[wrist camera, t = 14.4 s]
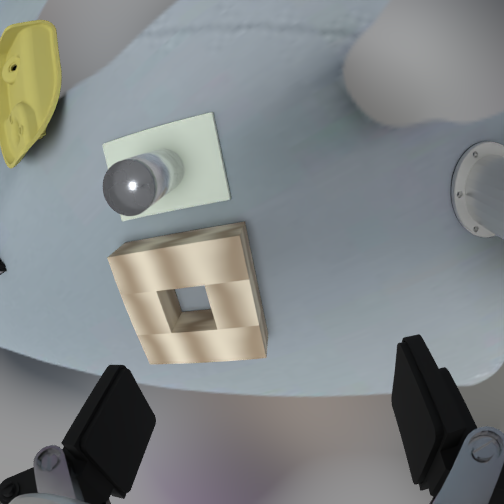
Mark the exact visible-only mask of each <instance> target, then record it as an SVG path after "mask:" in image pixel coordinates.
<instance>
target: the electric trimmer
mask: <svg viewBox="0 0 504 504" xmlns="http://www.w3.org/2000/svg"><path fill="white" fill-rule="evenodd" d="M5 267H6V266H5V265H4V264H1V262H0V274H2V273H4V272H5V271H6V269H5Z"/></svg>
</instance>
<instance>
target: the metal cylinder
mask: <svg viewBox="0 0 504 504" xmlns="http://www.w3.org/2000/svg"><path fill="white" fill-rule="evenodd" d="M183 176H184V164H183V161H182V159H181V158H180V156H179V155H178V154H177V153H176V152H174V151H172V150H170V149H165V148H162V149H157V150H154V151H150V152H147V153H144V154H140V155H137V156H134V157H131V158H127V159H124V160H121V161H118V162H116V163H115V164H113V165H112V166H111V167H110V168H109V169H108V171H107V172H106V174H105V177H104V180H103V193H104V196H105V199H106V201H107V203H108V204H109V206H110V207H111V208H112V209H113V210H114V211H116V212H117V213H119V214H121V215H124V216H136V215H139V214H141V213H142V212H144V211H145V210H146V209H148V208H149V207H150V206H152V205H153V204H154V203H156V202H157V201H158V200H160V199H161V198H162V197H164V196H165V195H166V194H168V193H169V192H170V191H172V190H173V189H174V188H176V187H177V186H178V185H179V184H180V183H181V181H182V179H183Z"/></svg>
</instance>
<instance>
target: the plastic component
mask: <svg viewBox="0 0 504 504" xmlns="http://www.w3.org/2000/svg"><path fill="white" fill-rule="evenodd" d="M58 51H59V50H58V42H57V33H56V28H55V26H54V25H53V24H52V23H50V22H49V21H45V20H36V21H29V22H23V23H17V24H12V25H10V26H8V27H7V28H6V29H5V30H4V32H3V34H2V36H1V38H0V146H1V150H2V154H3V157H4V160H5V163H6V164H7V166H8V167H9V168H13V167H15V166H16V165H17V164H18V163H19V162H20V161H21V160H22V159H23V157H24V156H25V154H26V153H27V151H28V150H29V149H30V148H31V147H32V145H33V144H34V143H35V142H36V141H37V140H38V139H42V138H43V136H45V135H46V128H47V125H48V123H49V121H50V119H51V117H52V115H53V113H54V110H55V108H56V105H57V102H58V99H59V95H60V89H61V65H60V58H59V52H58ZM15 65H17V68H16V70H15V71H12V69H13V67H14V66H15Z"/></svg>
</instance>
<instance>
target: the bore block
mask: <svg viewBox="0 0 504 504" xmlns="http://www.w3.org/2000/svg"><path fill="white" fill-rule="evenodd" d="M107 258H108V261H109V264H110V267H111V269H112V272H113V275H114V278H115V281H116V283H117V286H118V289H119V291H120V294H121V297H122V299H123V302H124V304H125V307H126V309H127V312H128V314H129V317H130V319H131V322H132V324H133V326H134V329H135V331H136V333H137V336H138V338H139V340H140V343H141V345H142V347H143V349H144V352H145V354H146V356H147V358H148V360H149V363H150V364H182V363H204V362H221V361H235V360H248V359H259V358H266V356H267V343H268V331H267V326H266V322H265V317H264V312H263V307H262V302H261V297H260V293H259V288H258V283H257V278H256V273H255V268H254V263H253V259H252V254H251V249H250V244H249V239H248V234H247V230H246V225H245V222H239V223H233V224H227V225H221V226H215V227H209V228H203V229H198V230H192V231H186V232H180V233H175V234H169V235H164V236H158V237H153V238H147V239H142V240H137V241H131V242H126V243H124V244H123V245H122V246H120V247H119V248H118V249H117V250H116V251H115V252H113V253H112V254H111V255H110V256H109V257H107ZM203 285H205V288H206V292H207V295H208V299H209V302H210V306H211V309H208V310H198V311H188V312H182V311H181V308H180V305H179V302H178V299H177V296H176V292H175V289H178V288H186V287H195V286H203Z"/></svg>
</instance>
